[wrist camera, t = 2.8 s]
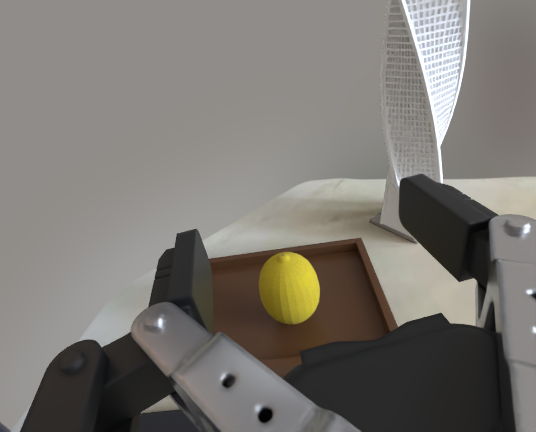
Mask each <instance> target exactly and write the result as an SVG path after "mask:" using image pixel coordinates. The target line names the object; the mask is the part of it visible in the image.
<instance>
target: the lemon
mask: <svg viewBox="0 0 536 432" xmlns="http://www.w3.org/2000/svg"><path fill="white" fill-rule="evenodd" d="M259 293H260V298H261V301H262V304H263V306H264V307H265V309H266V311H267V312H268V314H269V315H270V316H272V317H273V318H274V319H275V320H277V321H279V322H281V323H285V324H298V323H301V322H303V321H305V320H307V319H308V318H309V317H310V316H311V315H312V314H313V313H314V311H315V310H316V307H317V305H318V303H319V296H320V286H319V282H318V278H317V275H316V272H315V270H314V269H313V267H312V265H311V264H310V263H309V261H308V260H307V259H305V258H304V257H303V256H301V255H299V254H297V253H292V252H282V253H278V254H276V255H274V256H272V257H271V258H270V259H268V260H267V262H266V263H265V264H264V266H263V268H262V269H261V272H260V277H259Z"/></svg>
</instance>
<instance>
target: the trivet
mask: <svg viewBox="0 0 536 432" xmlns="http://www.w3.org/2000/svg"><path fill="white" fill-rule="evenodd" d="M139 432H199V431H198V429H197V428H196V427H195V426H194V425H193V424H192V422H191V421H190V420H189V419H188V418H187V416H186V415H185V414H184V413H183V412H182V410H173V411H162V412H151V413H142V414H141V417H140V424H139Z"/></svg>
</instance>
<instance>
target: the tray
mask: <svg viewBox="0 0 536 432" xmlns="http://www.w3.org/2000/svg"><path fill="white" fill-rule="evenodd" d="M282 252H292V253H297V254H299V255H301V256H303V257H304V258H305V259H307V260H308V261H309V263H310V264H311V265H312V267H313V269H314V270H315V272H316V275H317V278H318V282H319V286H320V296H319V303H318V305H317V307H316V310H315V311H314V313H313V314H312V315H311V316H310V317H309V318H308V319H307V320H305V321H303V322H301V323H298V324H285V323H281V322H279V321H277V320H275V319H274V318H273V317H272V316H270V315H269V314H268V312H267V311H266V309H265V307H264V306H263V304H262V301H261V298H260V293H259V277H260V272H261V269H262V268H263V266H264V264H265V263H266V262H267V260H268V259H270V258H271V257H272V256H274V255H276V254H278V253H282ZM209 261H210V265H211V269H212V278H213V331H214V334H215V333H217V332H218V331H219V332H222V333H224V334H225V335H227V336H228V337H229V338H231V339H232V340H233V341H234V342H236V343H237V344H238V345H240V346H241V347H242V348H243V349H245V350H246V351H247V352H249V353H250V354H251V355H252V356H254V357H255V358H256V359H258V360H259V361H260V362H262V363H263V364H264V365H265V366H267V367H268V368H269V369H271V370H272V371H273V372H274V373H276V374H277V375H278V376H280V377H284V376H285V375H286V374H287V373H288V372H289V371H290V370H292V369H293V368H294V367H296V366H298V365H299V364H301V363H302V361H301V356H300V352H299V351H302V350H306V349H309V348H313V347H317V346H320V345H324V344H328V343H332V342H338V341H365V340H376V339H378V338H380V337H382V336H384V335H385V334H387V333H389V332H391V331H392V330H394V329H396V328H398V326H397V324H396V321H395V319H394V316H393V314H392V312H391V309H390V307H389V304H388V302H387V299H386V297H385V295H384V292H383V290H382V287H381V285H380V283H379V280H378V278H377V275H376V273H375V270H374V268H373V266H372V263H371V261H370V258H369V256H368V254H367V251H366V249H365V246H364V244H363V241H362V239H361V238H356V239H348V240H341V241H334V242H327V243H319V244H312V245H305V246H298V247H291V248H283V249H276V250H269V251H262V252H255V253H248V254H240V255H233V256H226V257H219V258H212V259H209Z"/></svg>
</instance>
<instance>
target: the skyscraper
mask: <svg viewBox="0 0 536 432" xmlns="http://www.w3.org/2000/svg"><path fill="white" fill-rule="evenodd" d="M469 12H470V0H388V2H387V10H386V19H385V26H384V34H383V44H382V55H381V72H380V101H381V115H382V125H383V131H384V138H385V144H386V148H387V154H388V158H389V162H390V164H389V170H388V175H387V181H386V187H385V193H384V200H383V206H382V213H380V214H378V215H377V216H375V217H373V218H372V219H370V222H372V223H374V224H376V225H378V226H380V227H382V228H384V229H386V230H389V231H391V232H393V233H395V234H397V235H399V236H401V237H403V238H406V239H408V240H410V241H412V242H414V243H416V244H417V243H418V241H417V240H416V239H415V238H414V237H413V236H412V235H411V234H410V233H409V232H408V231H407V230H406V229H405V228H404V227H403V226H402V224H401V222H400V219H399V184H400V180H401V179H402V178H405V177H409V176H413V175H418V174H424V175H426V176H427V177H429V178H431V179H432V180H434V181H435V182H439V183H442V184H443V177H442V163H441V152H440V145H441V143H442V141H443V138H444V136H445V133H446V131H447V128H448V125H449V123H450V120H451V117H452V114H453V111H454V108H455V105H456V102H457V97H458V94H459V90H460V86H461V81H462V76H463V70H464V63H465V57H466V48H467V38H468V26H469Z"/></svg>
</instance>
